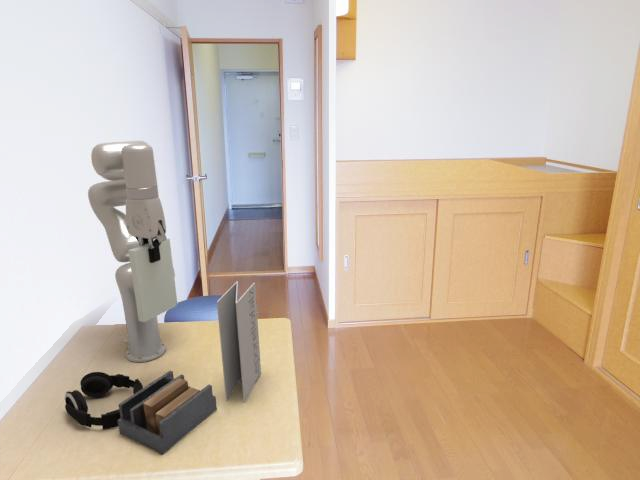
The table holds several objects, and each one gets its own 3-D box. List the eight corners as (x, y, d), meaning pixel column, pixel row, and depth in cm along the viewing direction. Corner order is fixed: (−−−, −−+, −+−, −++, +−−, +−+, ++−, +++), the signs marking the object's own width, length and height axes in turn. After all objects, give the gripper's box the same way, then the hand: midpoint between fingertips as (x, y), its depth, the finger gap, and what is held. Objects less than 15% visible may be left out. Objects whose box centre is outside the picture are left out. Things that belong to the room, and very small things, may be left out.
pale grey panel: (138, 320, 125) (128, 250, 119) (172, 303, 135) (164, 237, 129) (144, 322, 124) (133, 251, 118) (177, 305, 134) (169, 238, 128)
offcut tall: (148, 433, 117) (143, 403, 114) (183, 406, 127) (179, 378, 124) (156, 437, 116) (151, 406, 113) (191, 409, 126) (187, 381, 123)
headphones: (90, 362, 134) (155, 374, 132) (92, 385, 137) (156, 397, 134) (46, 400, 118) (119, 415, 115) (49, 426, 120) (121, 441, 118)
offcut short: (159, 438, 115) (155, 413, 113) (193, 411, 125) (191, 387, 123) (167, 442, 114) (164, 417, 112) (202, 414, 124) (199, 390, 122)
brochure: (244, 403, 128) (236, 303, 119) (225, 400, 129) (216, 301, 120) (261, 373, 141) (255, 282, 132) (243, 372, 142) (236, 281, 133)
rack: (119, 433, 117) (114, 406, 115) (176, 392, 133) (172, 368, 130) (162, 454, 110) (158, 426, 108) (216, 408, 126) (214, 383, 123)
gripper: (109, 193, 120) (120, 260, 125) (152, 198, 112) (162, 269, 118) (133, 188, 126) (142, 252, 132) (176, 193, 119) (183, 260, 124)
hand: (151, 260), depth 125 cm, fingers closed on pale grey panel, 2 cm apart
